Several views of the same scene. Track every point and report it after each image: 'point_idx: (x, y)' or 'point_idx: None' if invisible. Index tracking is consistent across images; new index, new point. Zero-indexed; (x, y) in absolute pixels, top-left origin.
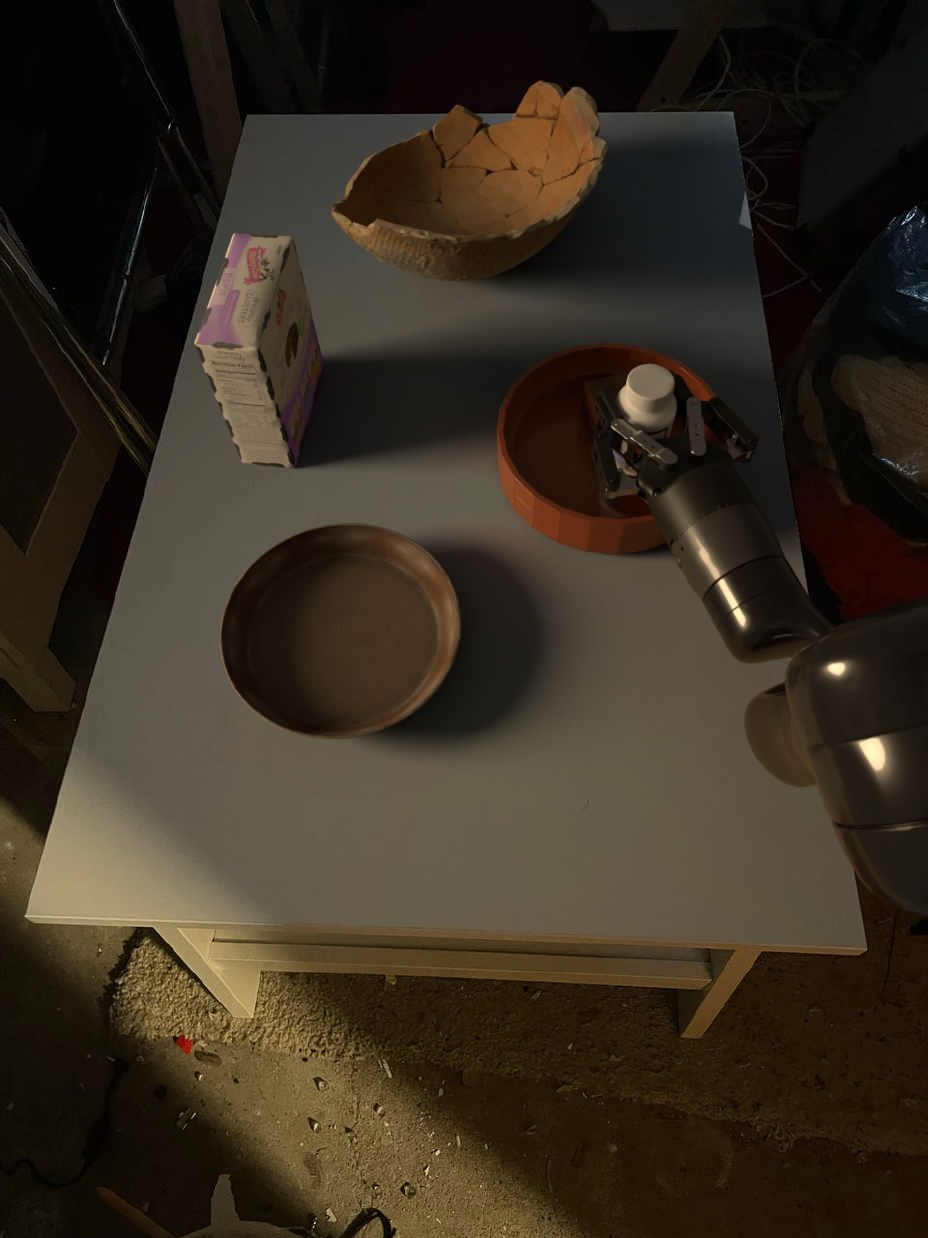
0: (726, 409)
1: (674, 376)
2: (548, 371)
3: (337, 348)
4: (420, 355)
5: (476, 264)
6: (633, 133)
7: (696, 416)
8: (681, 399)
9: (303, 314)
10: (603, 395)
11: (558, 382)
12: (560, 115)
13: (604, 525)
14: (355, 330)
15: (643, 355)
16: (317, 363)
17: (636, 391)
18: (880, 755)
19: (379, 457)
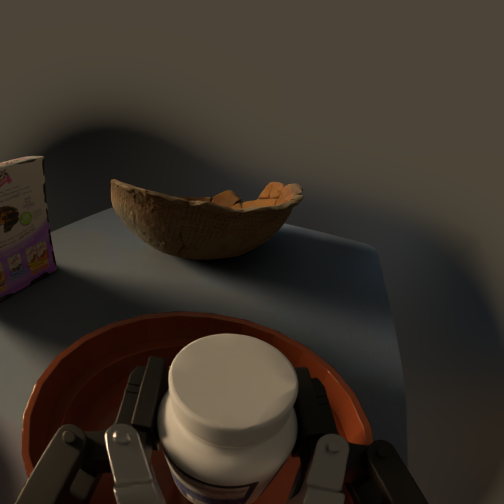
0: (400, 472)
1: (308, 381)
2: (173, 329)
3: (73, 266)
4: (110, 288)
5: (167, 228)
6: (327, 236)
7: (329, 485)
8: (307, 434)
9: (33, 213)
10: (146, 368)
11: (182, 345)
12: (281, 194)
13: None
14: (92, 262)
15: (287, 346)
16: (44, 262)
17: (179, 386)
18: None
19: (18, 335)
